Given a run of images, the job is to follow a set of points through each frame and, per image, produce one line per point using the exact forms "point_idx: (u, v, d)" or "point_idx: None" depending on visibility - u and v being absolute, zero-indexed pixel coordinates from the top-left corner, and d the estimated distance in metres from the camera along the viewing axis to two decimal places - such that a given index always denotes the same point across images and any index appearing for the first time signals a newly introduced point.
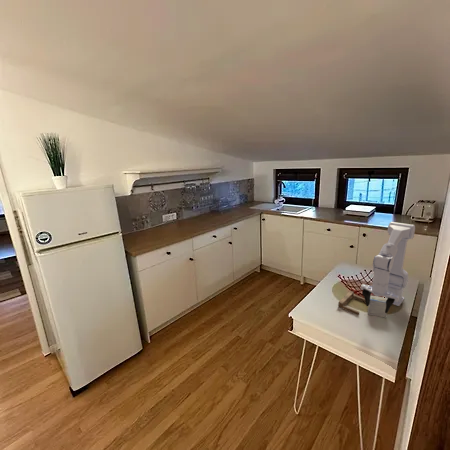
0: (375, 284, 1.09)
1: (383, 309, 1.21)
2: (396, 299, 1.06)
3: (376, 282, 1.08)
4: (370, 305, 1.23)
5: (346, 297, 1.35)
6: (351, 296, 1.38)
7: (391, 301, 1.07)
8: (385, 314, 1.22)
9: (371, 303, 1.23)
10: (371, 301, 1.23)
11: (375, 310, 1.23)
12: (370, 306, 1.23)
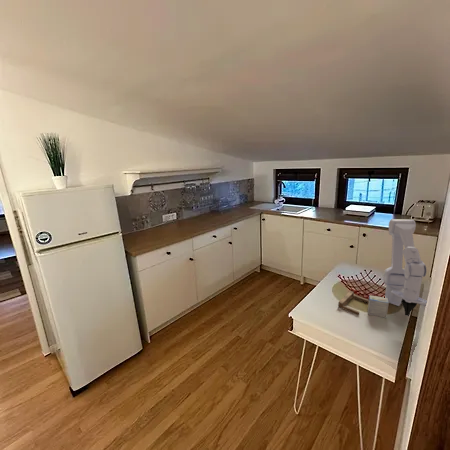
0: (407, 291, 1.10)
1: (383, 309, 1.21)
2: None
3: (412, 290, 1.09)
4: (370, 305, 1.23)
5: (346, 297, 1.35)
6: (351, 296, 1.38)
7: None
8: (385, 314, 1.22)
9: (371, 303, 1.23)
10: (371, 301, 1.23)
11: (375, 310, 1.23)
12: (370, 306, 1.23)
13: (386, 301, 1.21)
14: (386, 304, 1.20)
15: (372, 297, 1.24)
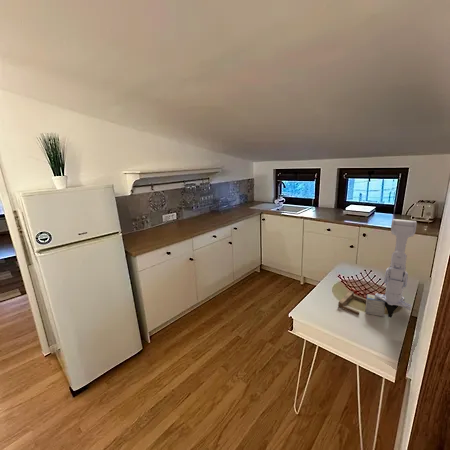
0: (389, 294, 1.16)
1: (380, 308, 1.22)
2: (409, 308, 1.13)
3: (391, 292, 1.15)
4: (367, 304, 1.24)
5: (346, 297, 1.35)
6: (351, 296, 1.38)
7: None
8: (382, 313, 1.22)
9: (368, 302, 1.24)
10: (369, 300, 1.23)
11: (373, 309, 1.24)
12: (367, 305, 1.24)
13: None
14: (383, 303, 1.21)
15: (370, 296, 1.25)
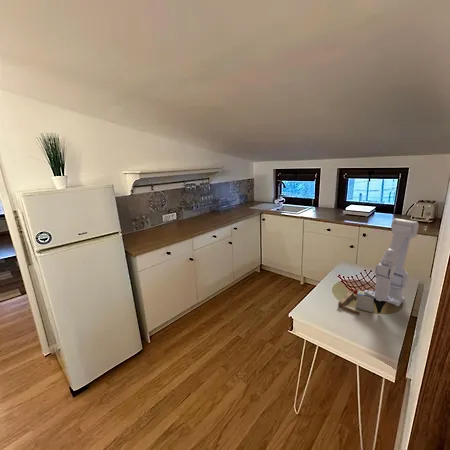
0: (377, 290, 1.19)
1: (369, 304, 1.26)
2: (397, 304, 1.16)
3: (378, 288, 1.19)
4: (357, 299, 1.28)
5: (346, 297, 1.35)
6: (351, 296, 1.38)
7: None
8: (372, 309, 1.26)
9: (358, 297, 1.28)
10: (358, 296, 1.27)
11: (362, 304, 1.28)
12: (357, 300, 1.28)
13: None
14: (372, 299, 1.24)
15: (360, 292, 1.29)
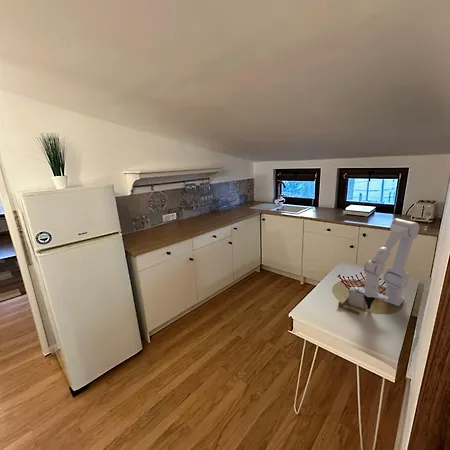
0: (367, 286, 1.23)
1: (360, 300, 1.29)
2: (385, 300, 1.20)
3: (366, 284, 1.23)
4: (349, 295, 1.32)
5: (346, 297, 1.35)
6: None
7: None
8: (362, 305, 1.29)
9: (350, 293, 1.32)
10: (350, 291, 1.31)
11: (354, 300, 1.31)
12: (349, 296, 1.32)
13: None
14: (363, 295, 1.27)
15: (352, 288, 1.32)
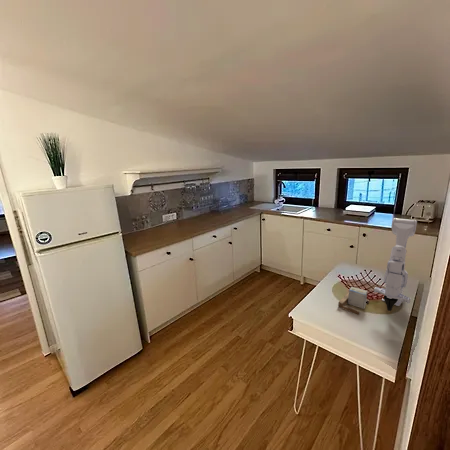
0: (388, 287, 1.16)
1: (360, 300, 1.29)
2: (408, 301, 1.12)
3: (390, 286, 1.15)
4: (349, 295, 1.32)
5: (346, 297, 1.35)
6: None
7: None
8: (362, 305, 1.29)
9: (350, 293, 1.32)
10: (350, 292, 1.31)
11: (354, 300, 1.31)
12: (349, 296, 1.32)
13: (364, 293, 1.28)
14: (363, 296, 1.27)
15: (352, 288, 1.32)
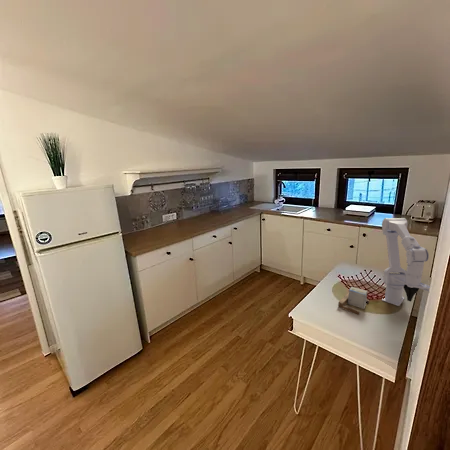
0: (409, 276, 1.13)
1: (360, 300, 1.29)
2: None
3: (415, 275, 1.11)
4: (349, 295, 1.32)
5: (346, 297, 1.35)
6: None
7: None
8: (362, 305, 1.29)
9: (350, 293, 1.32)
10: (350, 292, 1.31)
11: (354, 300, 1.31)
12: (349, 296, 1.32)
13: (364, 293, 1.28)
14: (363, 296, 1.27)
15: (352, 288, 1.32)
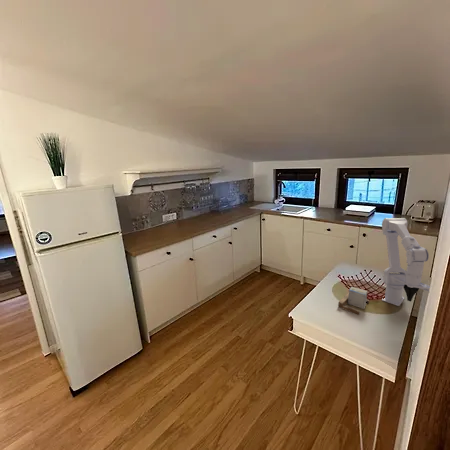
0: (409, 276, 1.13)
1: (360, 300, 1.29)
2: None
3: (415, 275, 1.11)
4: (349, 295, 1.32)
5: (346, 297, 1.35)
6: None
7: None
8: (362, 305, 1.29)
9: (350, 293, 1.32)
10: (350, 292, 1.31)
11: (354, 300, 1.31)
12: (349, 296, 1.32)
13: (364, 293, 1.28)
14: (363, 296, 1.27)
15: (352, 288, 1.32)
